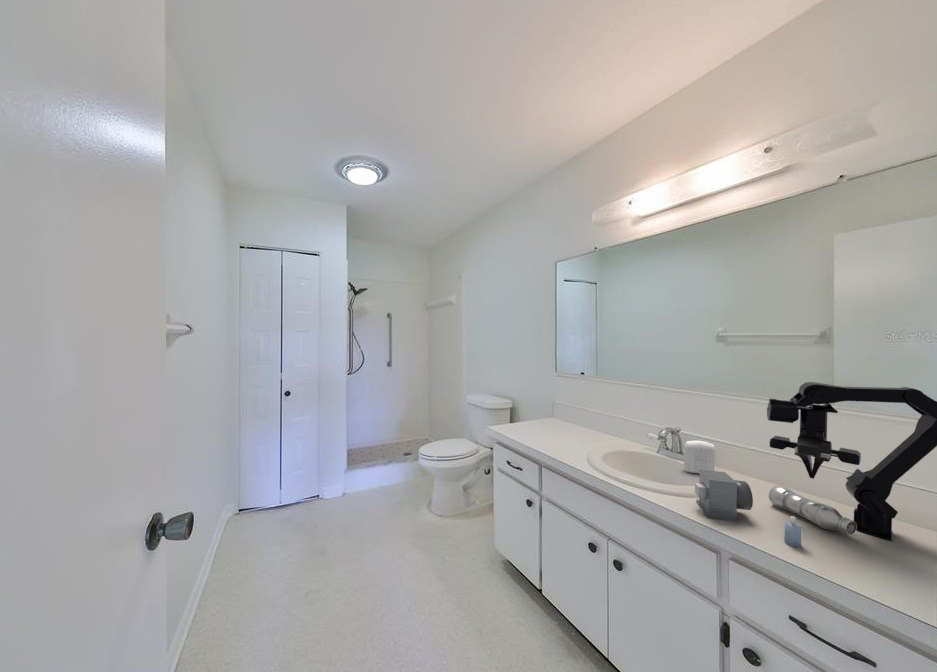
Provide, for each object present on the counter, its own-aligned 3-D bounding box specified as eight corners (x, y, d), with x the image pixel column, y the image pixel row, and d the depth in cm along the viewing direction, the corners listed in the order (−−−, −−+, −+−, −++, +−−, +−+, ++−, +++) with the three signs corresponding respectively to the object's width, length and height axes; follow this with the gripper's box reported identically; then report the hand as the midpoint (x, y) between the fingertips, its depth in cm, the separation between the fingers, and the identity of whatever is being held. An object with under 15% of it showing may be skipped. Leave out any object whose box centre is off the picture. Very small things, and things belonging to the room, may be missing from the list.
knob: (740, 502, 109) (740, 476, 109) (753, 515, 101) (753, 488, 101) (692, 496, 112) (692, 471, 112) (701, 508, 105) (701, 482, 105)
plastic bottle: (785, 494, 113) (865, 528, 94) (770, 508, 112) (848, 545, 93) (776, 479, 113) (854, 510, 93) (761, 492, 112) (837, 526, 92)
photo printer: (712, 471, 137) (712, 440, 137) (716, 476, 133) (716, 444, 133) (682, 468, 140) (682, 438, 140) (685, 472, 136) (685, 441, 136)
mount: (725, 505, 111) (725, 471, 111) (739, 522, 101) (740, 484, 101) (696, 502, 113) (696, 468, 113) (708, 517, 103) (708, 481, 103)
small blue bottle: (802, 544, 91) (802, 517, 91) (799, 549, 89) (800, 521, 89) (785, 538, 93) (786, 512, 93) (783, 543, 91) (783, 516, 91)
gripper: (765, 423, 105) (764, 474, 106) (858, 438, 91) (856, 498, 91) (774, 417, 112) (773, 465, 113) (861, 430, 98) (860, 486, 98)
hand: (812, 478), depth 103 cm, fingers closed
